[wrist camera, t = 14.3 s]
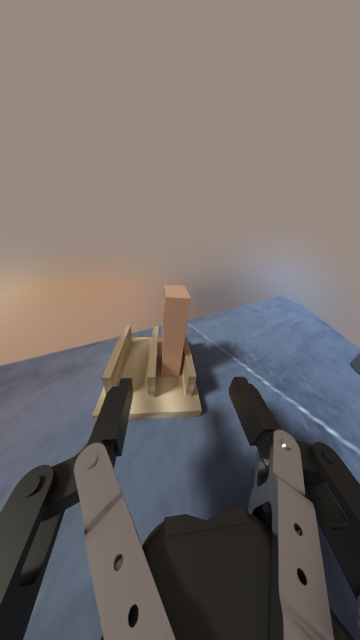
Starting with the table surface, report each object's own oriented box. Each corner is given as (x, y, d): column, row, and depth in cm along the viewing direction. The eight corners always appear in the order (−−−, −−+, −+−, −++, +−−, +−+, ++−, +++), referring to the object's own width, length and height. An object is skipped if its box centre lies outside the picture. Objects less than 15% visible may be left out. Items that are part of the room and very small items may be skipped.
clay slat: (176, 355, 28) (184, 285, 21) (178, 376, 24) (190, 298, 17) (160, 355, 28) (164, 284, 21) (161, 377, 23) (165, 297, 16)
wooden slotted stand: (185, 343, 34) (188, 322, 31) (199, 416, 20) (208, 390, 17) (124, 342, 32) (121, 319, 29) (94, 421, 18) (83, 393, 15)
